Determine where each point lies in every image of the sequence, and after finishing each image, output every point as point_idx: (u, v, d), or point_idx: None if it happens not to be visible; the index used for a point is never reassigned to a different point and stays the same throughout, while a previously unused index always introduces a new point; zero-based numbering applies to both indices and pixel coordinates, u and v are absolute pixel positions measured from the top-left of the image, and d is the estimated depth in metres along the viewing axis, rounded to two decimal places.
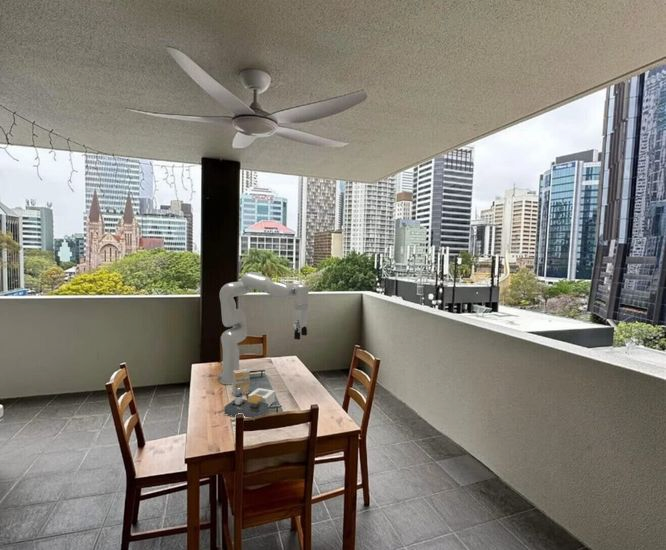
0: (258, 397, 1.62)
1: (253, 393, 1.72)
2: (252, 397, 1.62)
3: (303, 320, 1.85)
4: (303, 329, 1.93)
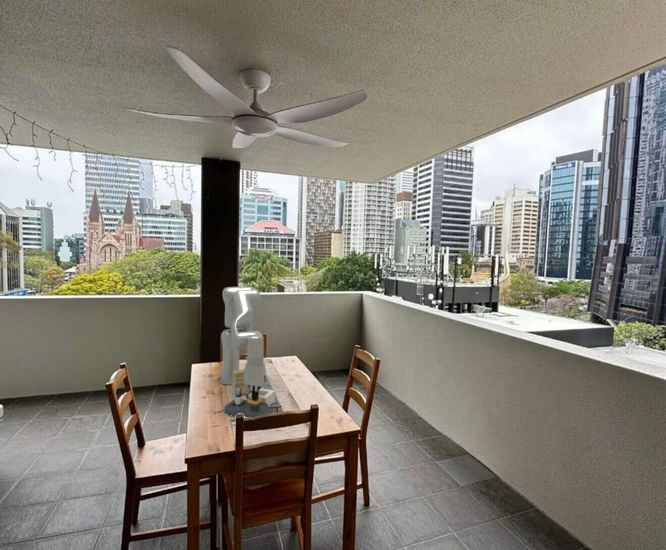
0: (258, 398, 1.62)
1: None
2: None
3: None
4: None
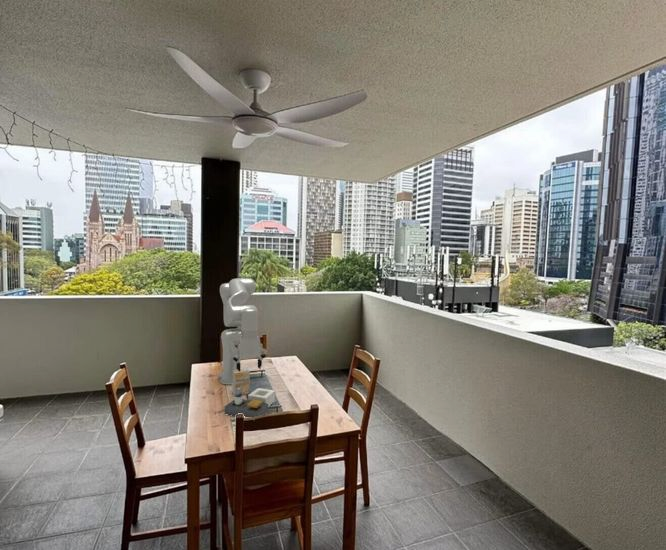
0: (258, 402, 1.62)
1: (253, 393, 1.72)
2: (252, 402, 1.62)
3: None
4: (239, 363, 1.60)
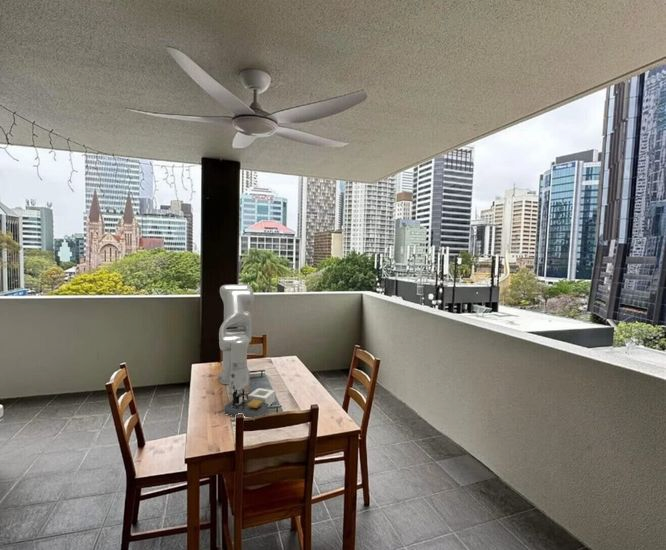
0: (258, 402, 1.62)
1: (253, 393, 1.72)
2: (252, 402, 1.62)
3: None
4: None
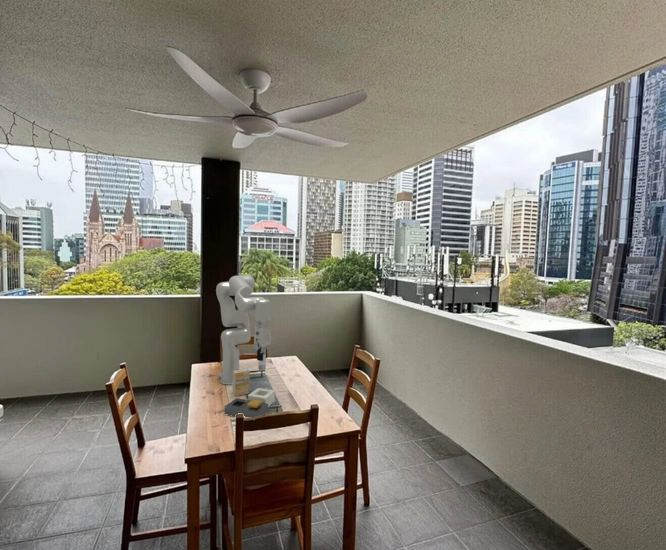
0: (258, 402, 1.62)
1: (253, 393, 1.72)
2: (252, 402, 1.62)
3: None
4: None
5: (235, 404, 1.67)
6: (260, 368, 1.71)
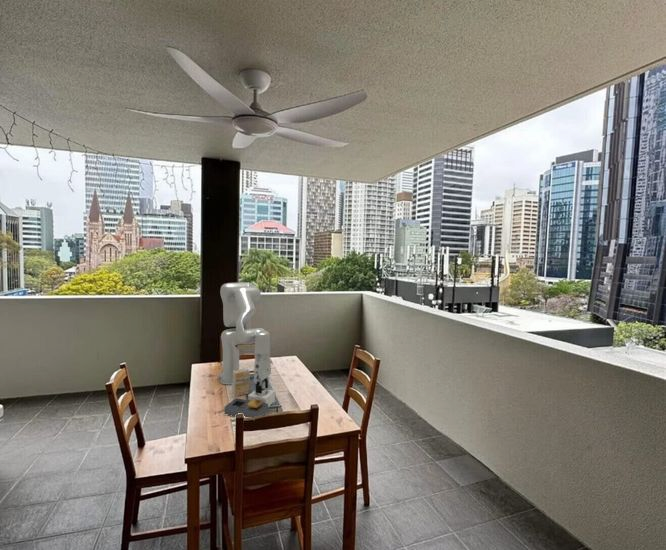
0: (258, 402, 1.62)
1: (253, 393, 1.72)
2: (252, 402, 1.62)
3: None
4: None
5: (235, 404, 1.67)
6: None
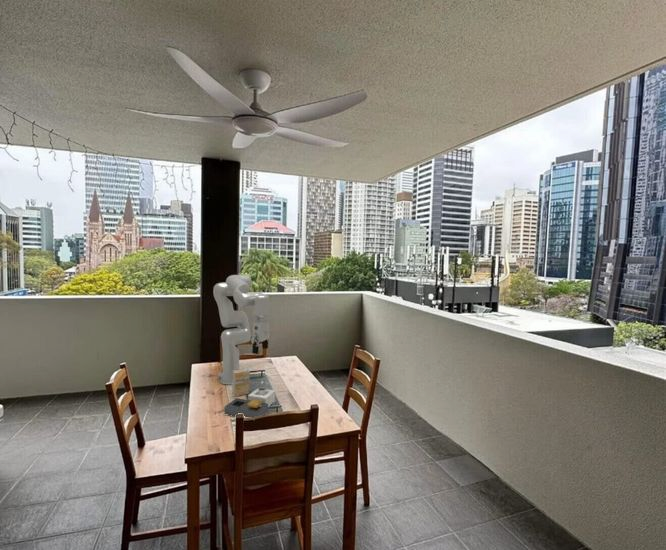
0: (258, 402, 1.62)
1: (253, 393, 1.72)
2: (252, 402, 1.62)
3: None
4: None
5: (235, 404, 1.67)
6: None
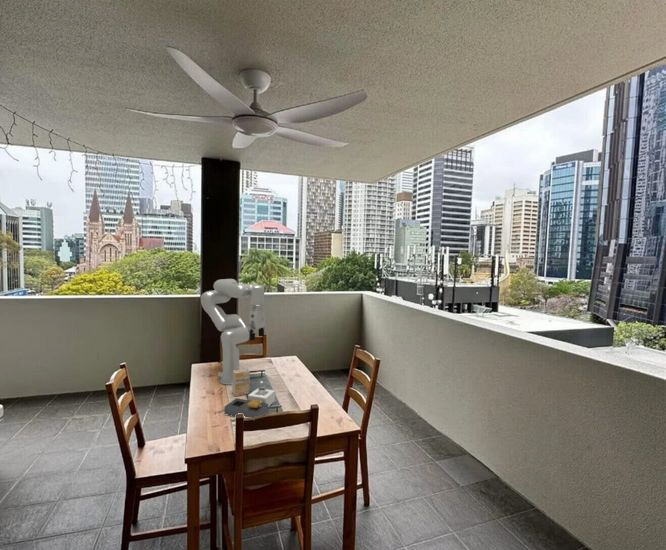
0: (258, 402, 1.62)
1: (253, 393, 1.72)
2: (252, 402, 1.62)
3: None
4: None
5: (235, 404, 1.67)
6: None
